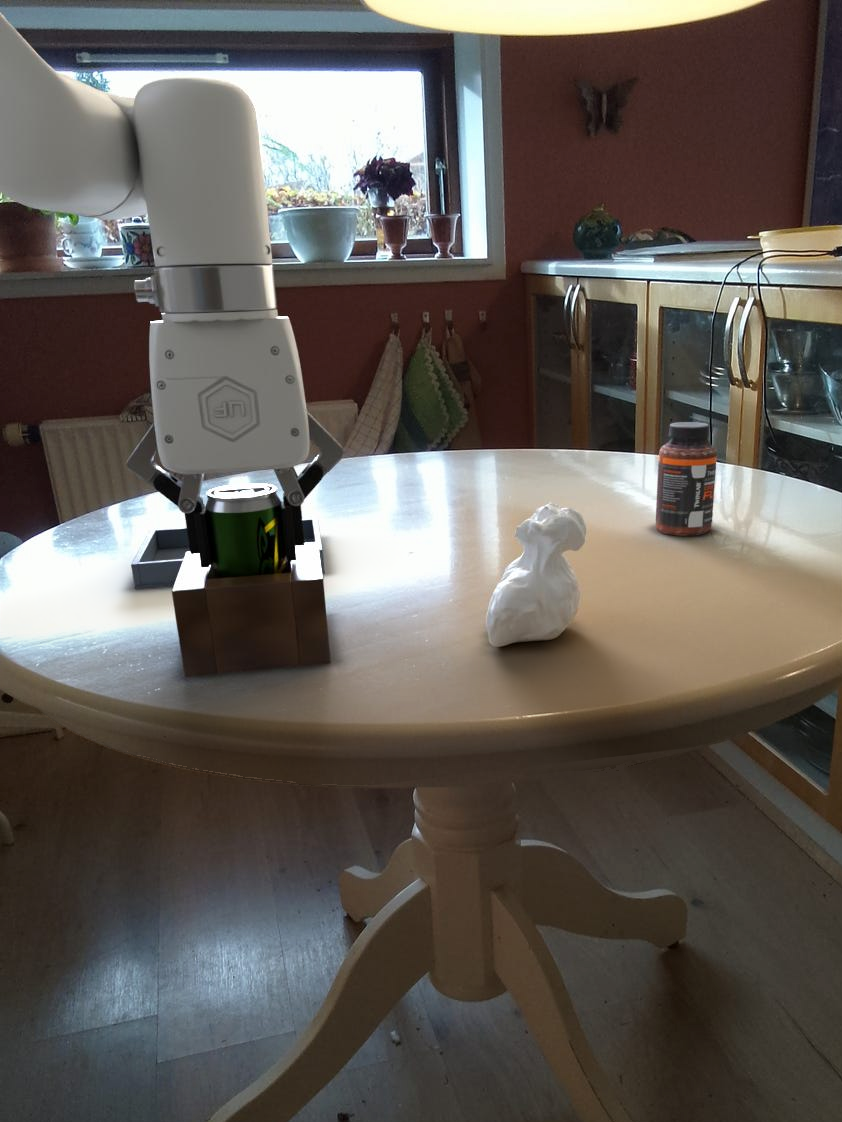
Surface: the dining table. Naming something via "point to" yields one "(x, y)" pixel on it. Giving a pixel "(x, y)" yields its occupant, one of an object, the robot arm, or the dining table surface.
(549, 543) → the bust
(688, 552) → the dining table surface
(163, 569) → the tray
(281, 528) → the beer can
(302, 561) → the can holder
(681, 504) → the supplement bottle
